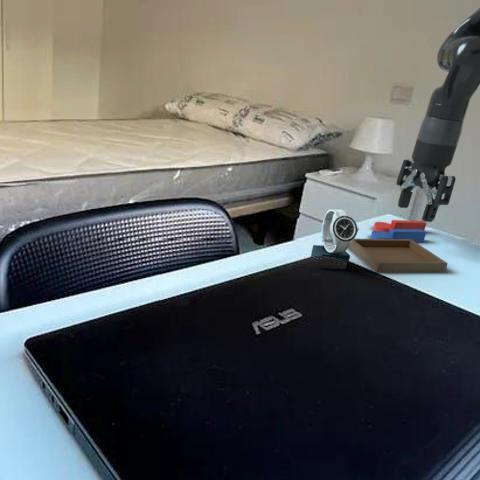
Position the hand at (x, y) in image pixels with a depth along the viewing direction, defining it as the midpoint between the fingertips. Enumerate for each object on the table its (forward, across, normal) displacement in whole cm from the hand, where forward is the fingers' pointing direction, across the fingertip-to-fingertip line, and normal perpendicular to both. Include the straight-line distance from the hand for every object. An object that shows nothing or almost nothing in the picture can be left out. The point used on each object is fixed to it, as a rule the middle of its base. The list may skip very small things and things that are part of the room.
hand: (414, 213), depth 109 cm
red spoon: (+6, +6, -1) cm, 9 cm away
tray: (+6, -10, +9) cm, 15 cm away
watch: (+7, -12, +25) cm, 28 cm away
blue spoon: (+6, 0, +3) cm, 7 cm away
